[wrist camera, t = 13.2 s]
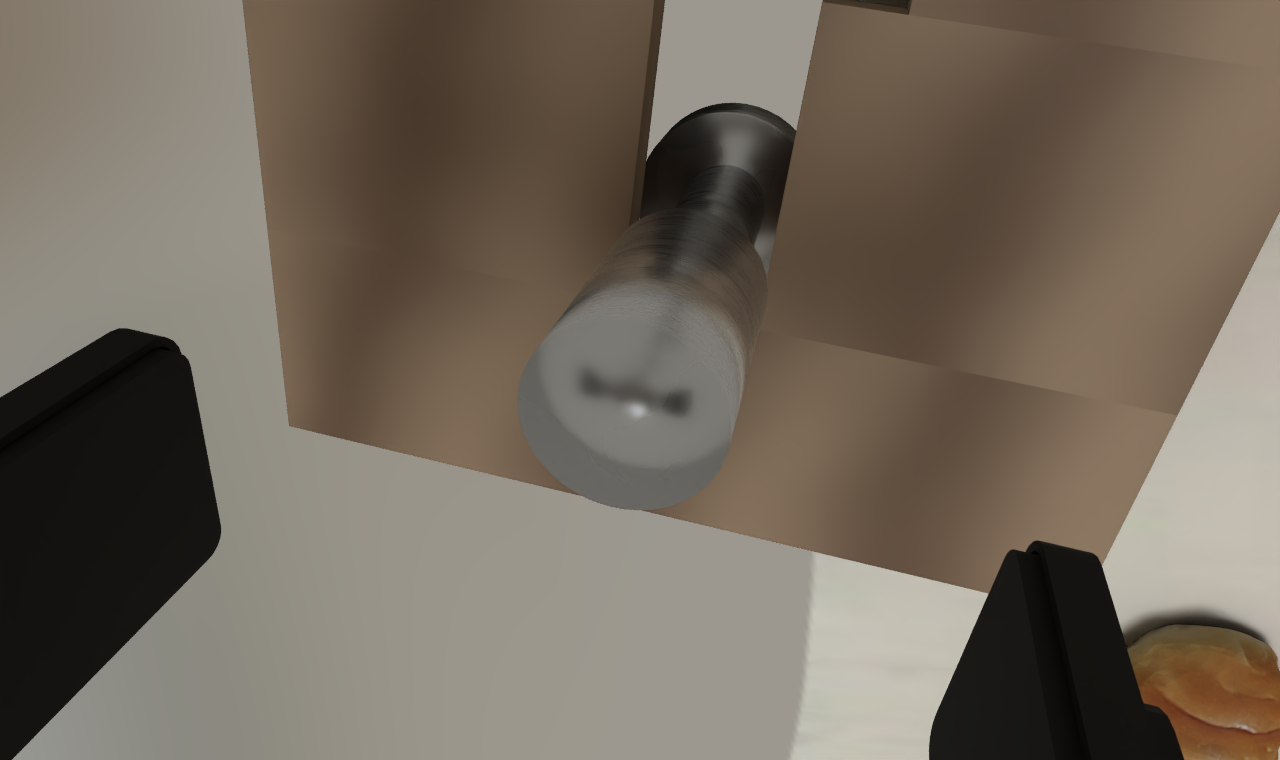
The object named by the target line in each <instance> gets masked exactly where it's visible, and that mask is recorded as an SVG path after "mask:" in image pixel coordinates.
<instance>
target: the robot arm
mask: <svg viewBox="0 0 1280 760" xmlns="http://www.w3.org/2000/svg"><path fill="white" fill-rule="evenodd" d="M220 536H221V524H220V519H219V514H218V508H217V503H216V497H215V492H214V487H213V482H212V476H211V471H210V466H209V460H208V455H207V450H206V445H205V439H204V435H203V429H202V424H201V418H200V413H199V408H198V403H197V397H196V392H195V387H194V382H193V376H192V371H191V367H190V363H189V361H188V359H187V358H186V357H185V356H184V355H182V354H181V352H180V349H179V347H178V346H177V345H176V343H175V342H174V341H173V340H171V339H168V338H166V337H161V336H157V335H153V334H149V333H144V332H140V331H135V330H131V329H125V328H124V329H123V328H122V329H120V328H119V329H116V330H114V331H111V332H109V333H107V334H106V335H104V336H102V337H101V338H99V339H97V340H96V341H94V342H92V343H91V344H89V345H87V346H86V347H84V348H82V349H81V350H79V351H77V352H76V353H74V354H72V355H71V356H69V357H67V358H66V359H64V360H62V361H61V362H59V363H57V364H56V365H54V366H52V367H51V368H49V369H47V370H45V371H44V372H42V373H41V374H39V375H37V376H35V377H34V378H32V379H30V380H29V381H27V382H25V383H24V384H22V385H20V386H19V387H17V388H15V389H14V390H12V391H10V392H9V393H7V394H5V395H4V396H2V397H0V760H12V759H13V758H14V757H15V756H16V755H17V754H18V753H19V752H20V751H21V750H22V749H23V748H24V747H25V746H26V745H27V744H28V743H29V742H30V741H31V739H33V738H34V736H35V735H36V734H37V733H38V732H39V731H40V730H41V729H42V728H43V727H44V726H45V725H46V724H47V723H48V722H49V721H50V720H51V719H52V718H53V717H54V716H55V715H56V714H57V713H58V712H59V711H60V710H61V709H62V708H63V707H64V706H65V705H66V704H67V703H68V702H69V701H70V700H71V699H72V698H73V697H74V696H75V695H76V694H77V693H78V692H79V691H80V690H81V689H82V688H83V687H84V686H85V684H87V682H88V681H89V680H90V679H91V678H92V677H93V676H94V675H95V674H96V673H97V672H98V671H99V670H100V669H101V668H102V667H103V666H104V665H105V664H106V663H107V662H108V661H109V660H110V659H111V658H112V657H113V656H114V655H115V654H116V653H117V652H118V651H119V650H120V649H121V648H122V647H123V646H124V645H125V644H126V643H127V642H128V641H129V640H130V639H131V638H132V637H133V636H134V635H135V634H136V633H137V631H138V630H139V629H141V627H142V626H143V625H144V624H145V623H146V622H147V621H148V620H149V619H150V618H151V617H152V616H153V615H154V614H155V613H156V612H157V611H158V610H159V609H160V608H161V607H162V606H163V605H164V604H165V603H166V602H167V601H168V600H169V599H170V598H171V597H172V596H173V595H174V594H175V593H176V592H177V591H178V590H179V589H180V588H181V587H182V586H183V584H185V583H186V582H187V581H188V580H189V579H190V578H191V577H192V576H193V575H194V573H196V571H197V570H198V569H199V568H200V567H201V566H202V565H203V564H204V563H205V562H206V561H207V560H208V559H209V558H210V557H211V556H212V554H213V553H214V551H215V549H216V548H217V546H218V543H219V540H220ZM929 760H1184V757H1183V754H1182V751H1181V748H1180V745H1179V742H1178V739H1177V736H1176V733H1175V730H1174V728H1173V726H1172V724H1171V722H1170V720H1169V717H1168V716H1167V715H1166V714H1165V713H1164V712H1163V711H1162V710H1161V709H1160V708H1159V707H1157V706H1153V705H1149V704H1146V703H1143V700H1142V697H1141V693H1140V690H1139V687H1138V683H1137V680H1136V677H1135V674H1134V670H1133V667H1132V664H1131V660H1130V657H1129V654H1128V651H1127V647H1126V644H1125V641H1124V637H1123V634H1122V631H1121V628H1120V624H1119V621H1118V618H1117V614H1116V611H1115V608H1114V605H1113V601H1112V598H1111V595H1110V591H1109V588H1108V585H1107V581H1106V578H1105V575H1104V572H1103V568H1102V565H1101V562H1100V560H1099V558H1098V556H1096V555H1095V554H1094V553H1091V552H1086V551H1082V550H1078V549H1073V548H1069V547H1065V546H1060V545H1056V544H1052V543H1048V542H1043V541H1039V540H1037V541H1033V542H1032V543H1031V544H1030V545H1029V546H1028V548H1027V550H1026V552H1023V551H1019V550H1015V549H1012V550H1010V551H1009V552H1008V553H1007V554H1006V556H1005V558H1004V560H1003V562H1002V565H1001V567H1000V569H999V571H998V574H997V576H996V578H995V581H994V583H993V585H992V587H991V590H990V592H989V594H988V597H987V599H986V601H985V603H984V606H983V608H982V610H981V613H980V615H979V617H978V619H977V622H976V624H975V626H974V629H973V631H972V633H971V635H970V638H969V640H968V642H967V645H966V647H965V649H964V652H963V654H962V656H961V658H960V661H959V663H958V665H957V668H956V670H955V672H954V674H953V677H952V679H951V681H950V684H949V686H948V688H947V690H946V693H945V695H944V697H943V700H942V702H941V704H940V706H939V709H938V711H937V713H936V716H935V718H934V721H933V725H932V729H931V735H930V744H929Z"/></svg>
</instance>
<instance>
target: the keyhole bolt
mask: <svg viewBox="0 0 1280 760" xmlns="http://www.w3.org/2000/svg"><path fill="white" fill-rule="evenodd" d="M795 136H796V130H794V128H793V127H792V126H791V125H789V124H788V123H787V122H786V121H784V120H783V119H782V118H780V117H779V116H777V115H775V114H773V113H772V112H770V111H768V110H765V109H762V108H760V107H756V106H753V105H748V104H741V103H722V104H716V105H711V106H708V107H705V108H702V109H699V110H697V111H695V112H693V113H691V114H689V115H688V116H686V117H684V118H683V119H681V120H680V121H679V122H678V123H677V124H675V125H674V126H673V127H672V128H671V129H670V130H669V132H668V133H667V134H666V135H665V136H664V137H663V138H662V140H661V141H660V142H659V143H658V144H657V145H656V147H655V148H654V149H653V151H652V152H651V154H650V155H649V157H648V159H647V161H646V166H645V175H644V183H643V192H642V201H641V209H640V220H638V221H636V222H635V223H633V224H632V225H631V226H630V227H629V228H627V229H626V230H625V232H624V233H623V234H622V235H621V236H620V237H619V239H618V240H617V241H616V243H615V244H614V245H613V247H612V248H611V249H610V251H609V252H608V253H607V255H606V256H605V257H604V259H603V260H602V262H601V263H600V264H599V266H598V267H597V268H596V270H595V271H594V272H593V274H592V275H591V276H590V278H589V279H588V280H587V282H586V283H585V285H584V286H583V287H582V289H581V290H580V291H579V293H578V294H577V295H576V297H575V298H574V299H573V301H572V302H571V303H570V305H569V306H568V308H567V309H566V310H565V312H564V313H563V314H562V316H561V317H560V318H559V320H558V321H557V322H556V324H555V325H554V326H553V328H552V329H551V331H550V332H549V333H548V335H547V336H546V337H545V339H544V340H543V341H542V343H541V344H540V345H539V347H538V348H537V349H536V351H535V352H534V354H533V355H532V357H531V358H530V360H529V361H528V363H527V364H526V367H525V369H524V371H523V373H522V376H521V379H520V383H519V388H518V396H517V403H518V414H519V420H520V424H521V427H522V430H523V433H524V436H525V438H526V440H527V442H528V444H529V446H530V448H531V449H532V451H533V453H534V454H535V456H536V457H537V459H538V460H539V461H540V462H541V464H542V465H543V466H544V467H545V468H546V469H547V470H548V471H549V472H550V473H551V474H552V475H553V476H554V477H555V478H556V479H557V480H559V481H560V482H561V483H562V484H564V485H565V486H567V487H568V488H570V489H571V490H573V491H574V492H576V493H578V494H580V495H582V496H583V497H585V498H588V499H590V500H592V501H595V502H597V503H600V504H604V505H607V506H611V507H616V508H621V509H630V510H652V509H658V508H664V507H668V506H671V505H675V504H677V503H680V502H682V501H685V500H687V499H689V498H690V497H692V496H694V495H695V494H697V493H698V492H700V491H701V490H702V489H703V488H705V487H706V486H707V485H708V484H709V483H710V482H711V481H712V480H713V478H714V477H715V476H716V474H717V473H718V471H719V470H720V469H721V467H722V465H723V463H724V460H725V458H726V456H727V452H728V449H729V445H730V441H731V438H732V434H733V430H734V426H735V422H736V419H737V415H738V411H739V407H740V403H741V400H742V396H743V392H744V388H745V384H746V381H747V377H748V373H749V369H750V366H751V362H752V358H753V354H754V350H755V347H756V343H757V339H758V335H759V331H760V328H761V324H762V320H763V316H764V312H765V309H766V305H767V297H768V283H767V275H768V270H769V265H770V260H771V255H772V250H773V245H774V240H775V235H776V230H777V225H778V220H779V215H780V210H781V205H782V200H783V195H784V190H785V185H786V181H787V176H788V171H789V166H790V161H791V156H792V151H793V146H794V141H795Z"/></svg>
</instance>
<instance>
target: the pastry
mask: <svg viewBox="0 0 1280 760" xmlns="http://www.w3.org/2000/svg"><path fill="white" fill-rule="evenodd" d="M1127 651H1128V654H1129V657H1130V660H1131V664H1132V667H1133V670H1134V674H1135V677H1136V680H1137V683H1138V687H1139V690H1140V693H1141V697H1142V700H1143V703H1146V704H1149V705H1153V706H1157V707H1159V708H1160V709H1161V710H1162V711H1163V712H1164V713H1165V714H1166V715H1167V716H1168V717H1169V720H1170V722H1171V724H1172V726H1173V728H1174V730H1175V733H1176V736H1177V739H1178V742H1179V745H1180V748H1181V751H1182V754H1183V757H1184V760H1278V749H1279V746H1280V671H1279V669H1278V667H1277V656H1276V655H1275V653H1274V651H1273V650H1272V648H1271V647H1270V646H1269V645H1268V644H1267V643H1265V642H1262V641H1259V640H1257V639H1255V638H1253V637H1251V636H1249V635H1247V634H1244V633H1241V632H1238V631H1235V630H1232V629H1226V628H1218V627H1209V626H1198V625H1179V624H1178V625H1169V626H1165V627H1162V628H1159V629H1154V630H1151V631H1149V632H1148V633H1146V634H1144V635H1143V636H1142V637H1140V638H1139V639H1138V640H1137V641H1136V642H1134V643H1133V644H1131V645H1130V646H1128V647H1127Z"/></svg>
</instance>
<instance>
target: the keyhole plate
mask: <svg viewBox="0 0 1280 760" xmlns="http://www.w3.org/2000/svg"><path fill="white" fill-rule="evenodd" d="M664 3H665V0H243V9H244V18H245V28H246V37H247V46H248V55H249V65H250V74H251V83H252V92H253V101H254V110H255V119H256V128H257V137H258V146H259V156H260V165H261V174H262V183H263V192H264V201H265V210H266V220H267V229H268V238H269V247H270V256H271V265H272V274H273V283H274V292H275V302H276V311H277V319H278V329H279V338H280V347H281V356H282V365H283V374H284V383H285V392H286V402H287V411H288V420H289V426H291V427H296V428H300V429H304V430H308V431H312V432H317V433H321V434H325V435H329V436H333V437H337V438H342V439H346V440H350V441H354V442H358V443H363V444H367V445H371V446H376V447H379V448H383V449H388V450H392V451H396V452H400V453H404V454H409V455H413V456H417V457H421V458H426V459H429V460H434V461H438V462H443V463H447V464H451V465H455V466H459V467H463V468H467V469H472V470H475V471H480V472H484V473H488V474H493V475H497V476H500V477H505V478H509V479H513V480H518V481H521V482H526V483H530V484H534V485H538V486H543V487H547V488H551V489H555V490H559V491H563V492H568V493H572V494H576V495H580V494H578V493H576V492H574V491H573V490H571V489H570V488H568V487H567V486H565V485H564V484H562V483H561V482H560V481H559V480H557V479H556V478H555V477H554V476H553V475H552V474H551V473H550V472H549V471H548V470H547V469H546V468H545V467H544V466H543V465H542V464H541V462H540V461H539V460H538V459H537V457H536V456H535V454H534V453H533V451H532V449H531V448H530V446H529V444H528V442H527V440H526V438H525V436H524V433H523V430H522V427H521V424H520V420H519V414H518V403H517V396H518V388H519V383H520V379H521V376H522V373H523V371H524V369H525V367H526V364H527V363H528V361H529V360H530V358H531V357H532V355H533V354H534V352H535V351H536V349H537V348H538V347H539V345H540V344H541V343H542V341H543V340H544V339H545V337H546V336H547V335H548V333H549V332H550V331H551V329H552V328H553V326H554V325H555V324H556V322H557V321H558V320H559V318H560V317H561V316H562V314H563V313H564V312H565V310H566V309H567V308H568V306H569V305H570V303H571V302H572V301H573V299H574V298H575V297H576V295H577V294H578V293H579V291H580V290H581V289H582V287H583V286H584V285H585V283H586V282H587V280H588V279H589V278H590V276H591V275H592V274H593V272H594V271H595V270H596V268H597V267H598V266H599V264H600V263H601V262H602V260H603V259H604V257H605V256H606V255H607V253H608V252H609V251H610V249H611V248H612V247H613V245H614V244H615V243H616V241H617V240H618V239H619V237H620V236H621V235H622V234H623V233H624V232H625V230H626V229H627V228H629V227H630V226H631V225H632V224H633V223H635V222H636V221H638V220H639V218H640V209H641V201H642V192H643V183H644V175H645V166H646V158H647V148H648V139H649V132H650V123H651V115H652V106H653V97H654V89H655V79H656V72H657V63H658V54H659V45H660V37H661V29H662V20H663V12H664ZM1279 212H1280V0H909V2H908V6H907V8H901V7H894V6H887V5H881V4H874V3H867V2H860V1H854V0H823V2H822V7H821V12H820V16H819V21H818V27H817V31H816V36H815V41H814V46H813V51H812V57H811V61H810V67H809V71H808V76H807V81H806V86H805V91H804V96H803V101H802V106H801V111H800V116H799V121H798V126H797V131H796V136H795V141H794V146H793V151H792V156H791V161H790V166H789V171H788V176H787V181H786V185H785V190H784V195H783V200H782V205H781V210H780V215H779V220H778V225H777V230H776V235H775V240H774V245H773V250H772V255H771V260H770V265H769V270H768V275H767V283H768V297H767V305H766V309H765V312H764V316H763V320H762V324H761V328H760V331H759V335H758V339H757V343H756V347H755V350H754V354H753V358H752V362H751V366H750V369H749V373H748V377H747V381H746V384H745V388H744V392H743V396H742V400H741V403H740V407H739V411H738V415H737V419H736V422H735V426H734V430H733V434H732V438H731V441H730V445H729V449H728V452H727V456H726V458H725V460H724V463H723V465H722V467H721V469H720V470H719V471H718V473H717V474H716V476H715V477H714V478H713V480H712V481H711V482H710V483H709V484H708V485H707V486H706V487H705V488H703V489H702V490H701V491H700V492H698V493H697V494H695V495H694V496H692V497H690V498H689V499H687V500H685V501H682V502H680V503H677V504H675V505H671V506H668V507H664V508H658V509H652V510H643V511H647V512H651V513H655V514H660V515H664V516H668V517H672V518H676V519H680V520H684V521H689V522H693V523H697V524H701V525H705V526H710V527H714V528H718V529H722V530H727V531H730V532H735V533H739V534H743V535H748V536H751V537H755V538H760V539H764V540H768V541H772V542H776V543H781V544H785V545H789V546H793V547H797V548H801V549H806V550H810V551H814V552H818V553H822V554H826V555H831V556H835V557H839V558H843V559H847V560H852V561H856V562H860V563H864V564H868V565H872V566H877V567H881V568H885V569H889V570H893V571H898V572H902V573H906V574H910V575H914V576H918V577H923V578H927V579H931V580H935V581H939V582H943V583H948V584H952V585H956V586H960V587H964V588H969V589H973V590H977V591H981V592H985V593H989V592H990V590H991V587H992V585H993V583H994V581H995V578H996V576H997V574H998V571H999V569H1000V567H1001V565H1002V562H1003V560H1004V558H1005V556H1006V554H1007V553H1008V552H1009V551H1010V550H1012V549H1015V550H1019V551H1023V552H1026V550H1027V548H1028V546H1029V545H1030V544H1031V543H1032V542H1033V541H1037V540H1039V541H1043V542H1048V543H1052V544H1056V545H1060V546H1065V547H1069V548H1073V549H1078V550H1082V551H1086V552H1091V553H1094V554H1095V555H1096V556H1098V558H1099V560H1100V562H1101V565H1102V564H1103V562H1104V560H1105V558H1106V556H1107V554H1108V552H1109V551H1110V549H1111V547H1112V545H1113V543H1114V541H1115V539H1116V537H1117V535H1118V533H1119V531H1120V529H1121V527H1122V525H1123V523H1124V521H1125V519H1126V517H1127V515H1128V513H1129V511H1130V509H1131V507H1132V505H1133V503H1134V501H1135V499H1136V497H1137V495H1138V493H1139V491H1140V489H1141V487H1142V485H1143V483H1144V481H1145V479H1146V477H1147V475H1148V473H1149V471H1150V469H1151V467H1152V465H1153V463H1154V461H1155V459H1156V457H1157V455H1158V453H1159V451H1160V449H1161V447H1162V445H1163V443H1164V441H1165V439H1166V437H1167V435H1168V433H1169V431H1170V429H1171V427H1172V425H1173V423H1174V421H1175V419H1176V417H1177V415H1178V413H1179V411H1180V409H1181V407H1182V405H1183V403H1184V401H1185V399H1186V397H1187V395H1188V393H1189V391H1190V389H1191V387H1192V385H1193V383H1194V381H1195V379H1196V377H1197V375H1198V373H1199V371H1200V369H1201V367H1202V365H1203V363H1204V361H1205V359H1206V357H1207V355H1208V354H1209V352H1210V350H1211V348H1212V346H1213V344H1214V342H1215V340H1216V338H1217V336H1218V334H1219V332H1220V330H1221V328H1222V326H1223V324H1224V322H1225V320H1226V318H1227V316H1228V314H1229V312H1230V310H1231V308H1232V306H1233V304H1234V302H1235V300H1236V298H1237V296H1238V294H1239V292H1240V290H1241V288H1242V286H1243V284H1244V282H1245V280H1246V278H1247V276H1248V274H1249V272H1250V270H1251V268H1252V266H1253V264H1254V262H1255V260H1256V258H1257V256H1258V254H1259V252H1260V250H1261V248H1262V246H1263V244H1264V242H1265V240H1266V238H1267V236H1268V234H1269V232H1270V230H1271V228H1272V226H1273V224H1274V222H1275V220H1276V218H1277V216H1278V214H1279ZM580 496H582V495H580Z"/></svg>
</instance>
